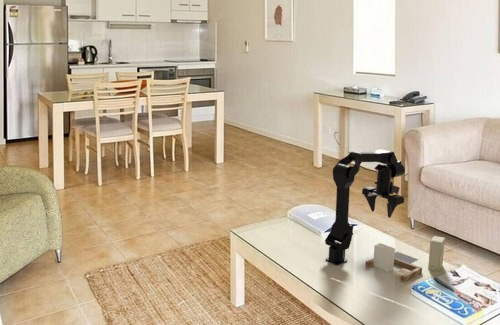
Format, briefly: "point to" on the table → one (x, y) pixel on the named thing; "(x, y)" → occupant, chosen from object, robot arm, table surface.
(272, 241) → the table surface
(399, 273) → the offcut slab upper
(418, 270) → the frame
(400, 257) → the felt pad
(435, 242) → the skincare box
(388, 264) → the off-white upright block
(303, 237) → the table surface
